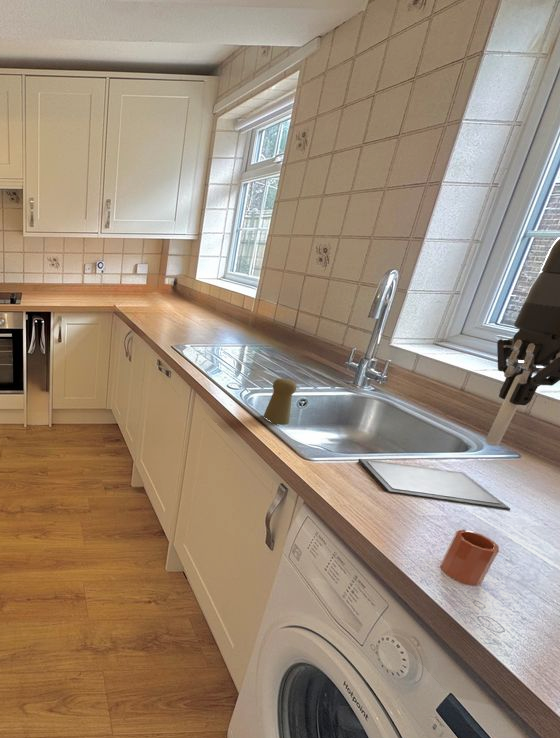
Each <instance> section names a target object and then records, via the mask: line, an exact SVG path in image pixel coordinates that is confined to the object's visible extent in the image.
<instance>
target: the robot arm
mask: <svg viewBox="0 0 560 738" xmlns="http://www.w3.org/2000/svg"><path fill="white" fill-rule="evenodd" d="M513 325H514V326H513V327H515V328H516V329H519V330H518V331H517V332H515V334H514V335H513V337H512V338H508V339H503V338H499V339H498V340H497V344H496V347H497V349H496V350H497V351H496V353H497V371H498V372H502V373H503V376H504V378H505V379H504V382H503V384H502V386H501V387H500V390H499V394H498V398H500V399H502V400H505V398H506V396H507V393H508V391H509V389H510V387H511V385H512V383H513V381H514V379H515V377H516V376H517V375H520V374H522V376H521V378H520V383H518V384H517V386H516V388H515V390H514V392H513V394H512V396H511V398H510V403H513V404H515V405H518V406H527V405H528V404H530V403H531V401H532V400H533V397H534V395H535V394H536V391H537V389H538V388H539V387H540V386H549V387H550V386H554V385H555V384H557V383H558V382H559V381H560V237H557V239H556V240H555V241H554V242H553V244H552V245H551V248H550V249H549V251H548V253H547V255H546V258H545V260H544V262H543V265H542V266H541V269H540V271H539V273H538V275H537V277H536V278H535V280H534V281H533V283H532V284H531V286H530V288H529V290H528V292H527V295H526V296H525V299H524V301H523V304H522V306H521V308H520V310H519V313H518V314H517V317H516V319H515V321H514V324H513ZM534 373H536V374H535V375H533V374H534Z"/></svg>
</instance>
